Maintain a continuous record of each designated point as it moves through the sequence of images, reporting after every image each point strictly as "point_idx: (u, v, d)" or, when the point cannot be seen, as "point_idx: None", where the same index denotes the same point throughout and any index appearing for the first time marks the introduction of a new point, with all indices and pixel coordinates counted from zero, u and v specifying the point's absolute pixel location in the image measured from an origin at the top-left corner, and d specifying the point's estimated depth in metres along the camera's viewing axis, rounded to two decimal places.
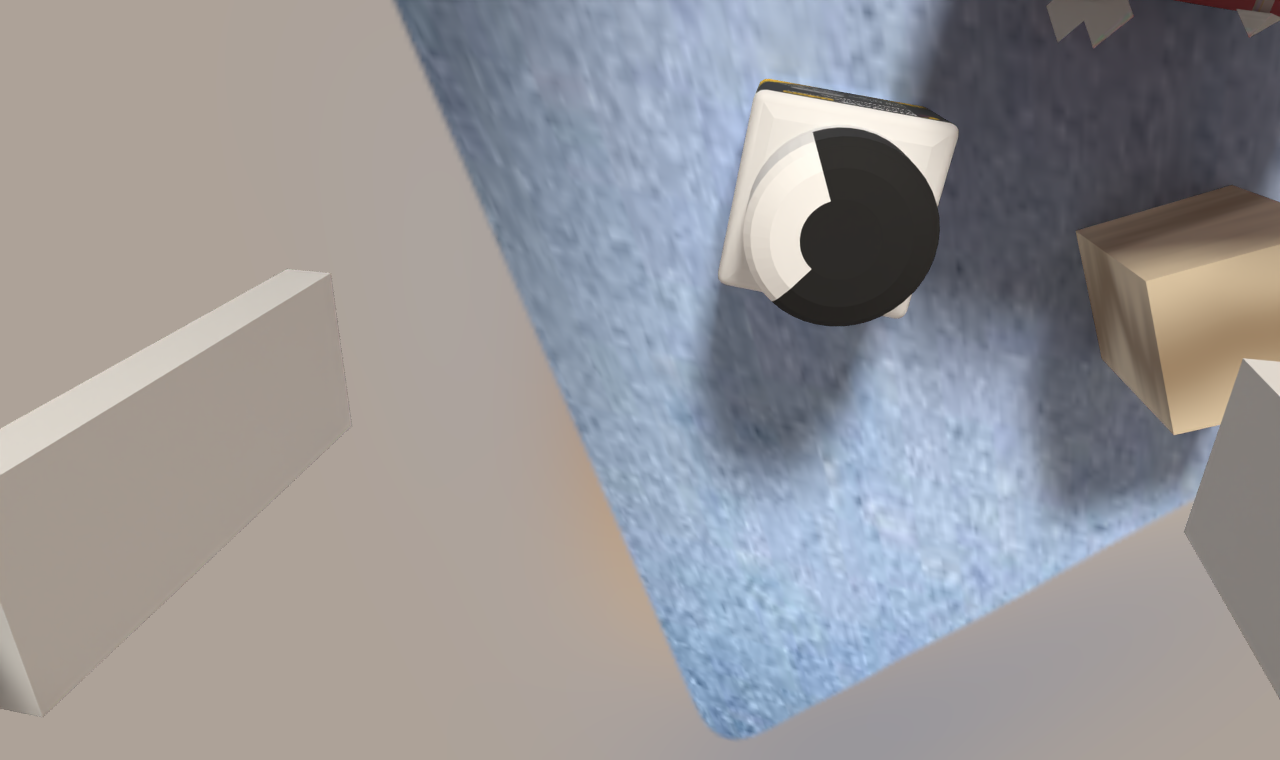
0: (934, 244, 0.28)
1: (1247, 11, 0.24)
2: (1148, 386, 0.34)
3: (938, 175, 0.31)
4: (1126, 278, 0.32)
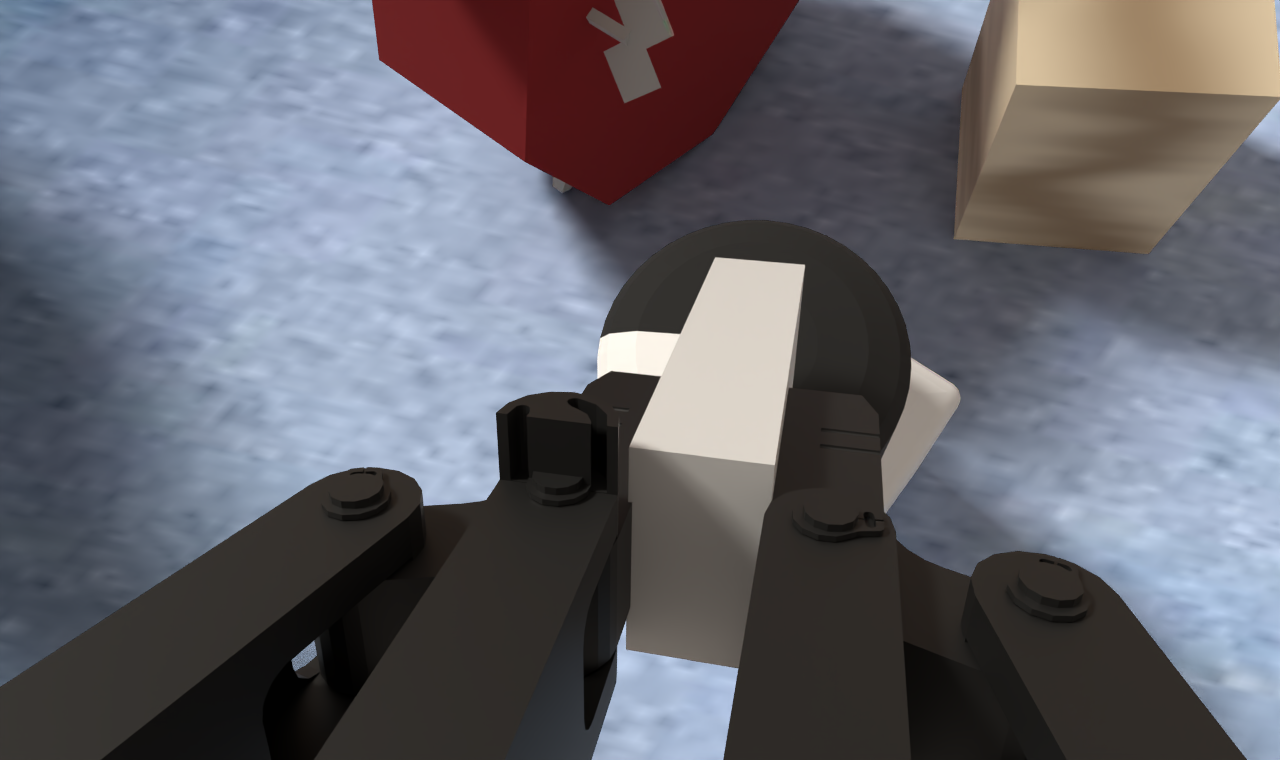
0: (825, 237, 0.18)
1: None
2: (1192, 141, 0.23)
3: None
4: (1015, 136, 0.24)
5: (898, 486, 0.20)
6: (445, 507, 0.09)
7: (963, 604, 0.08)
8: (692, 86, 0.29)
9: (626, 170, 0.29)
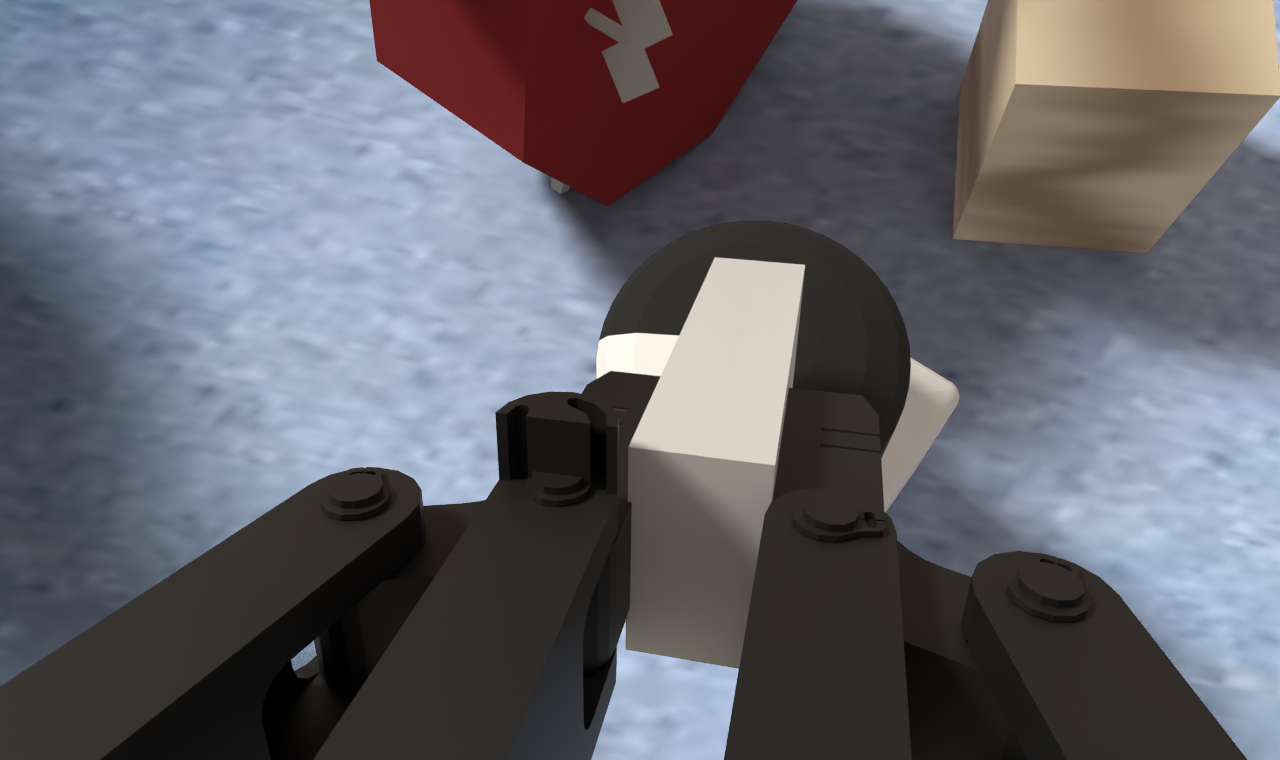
0: (822, 236, 0.18)
1: None
2: (1191, 140, 0.23)
3: None
4: (1014, 135, 0.24)
5: (898, 485, 0.20)
6: (445, 507, 0.09)
7: (964, 604, 0.08)
8: (691, 87, 0.29)
9: (624, 170, 0.29)
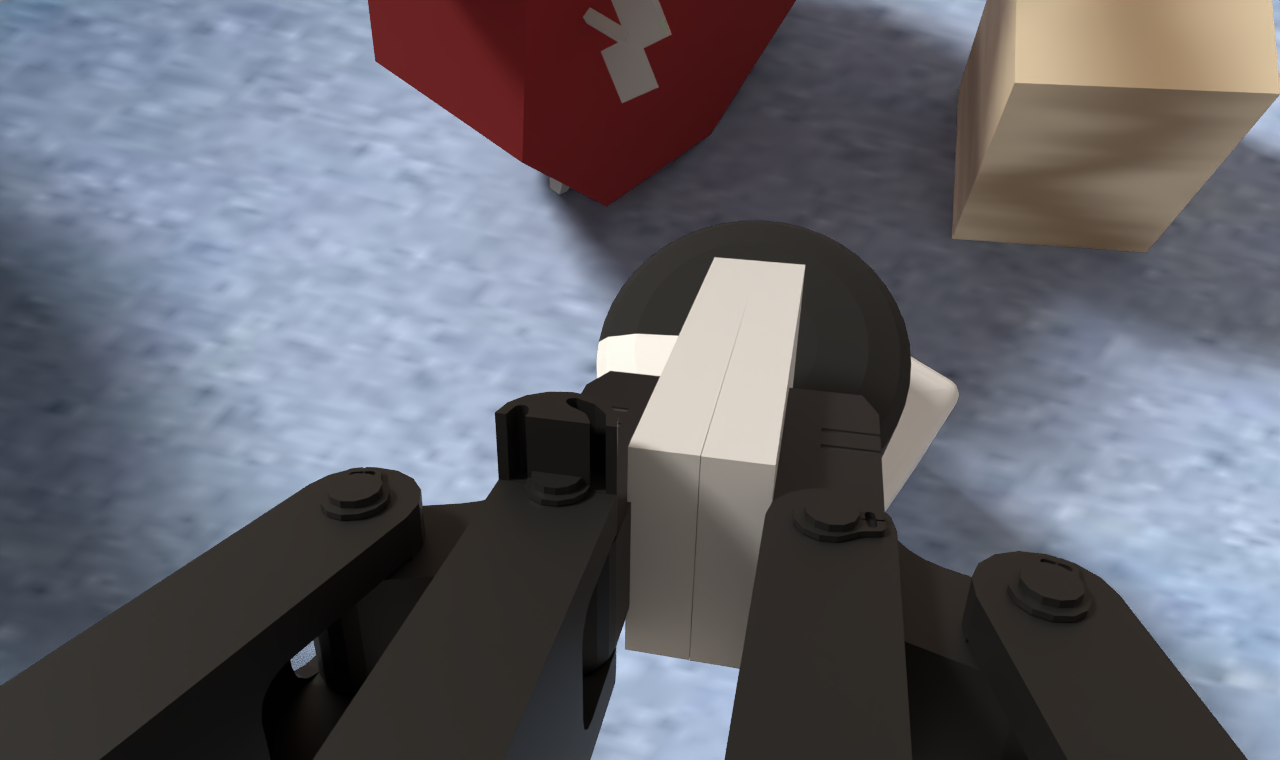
0: (821, 235, 0.18)
1: None
2: (1191, 139, 0.23)
3: None
4: (1013, 134, 0.24)
5: (899, 484, 0.20)
6: (444, 507, 0.09)
7: (964, 604, 0.08)
8: (689, 87, 0.29)
9: (623, 170, 0.29)
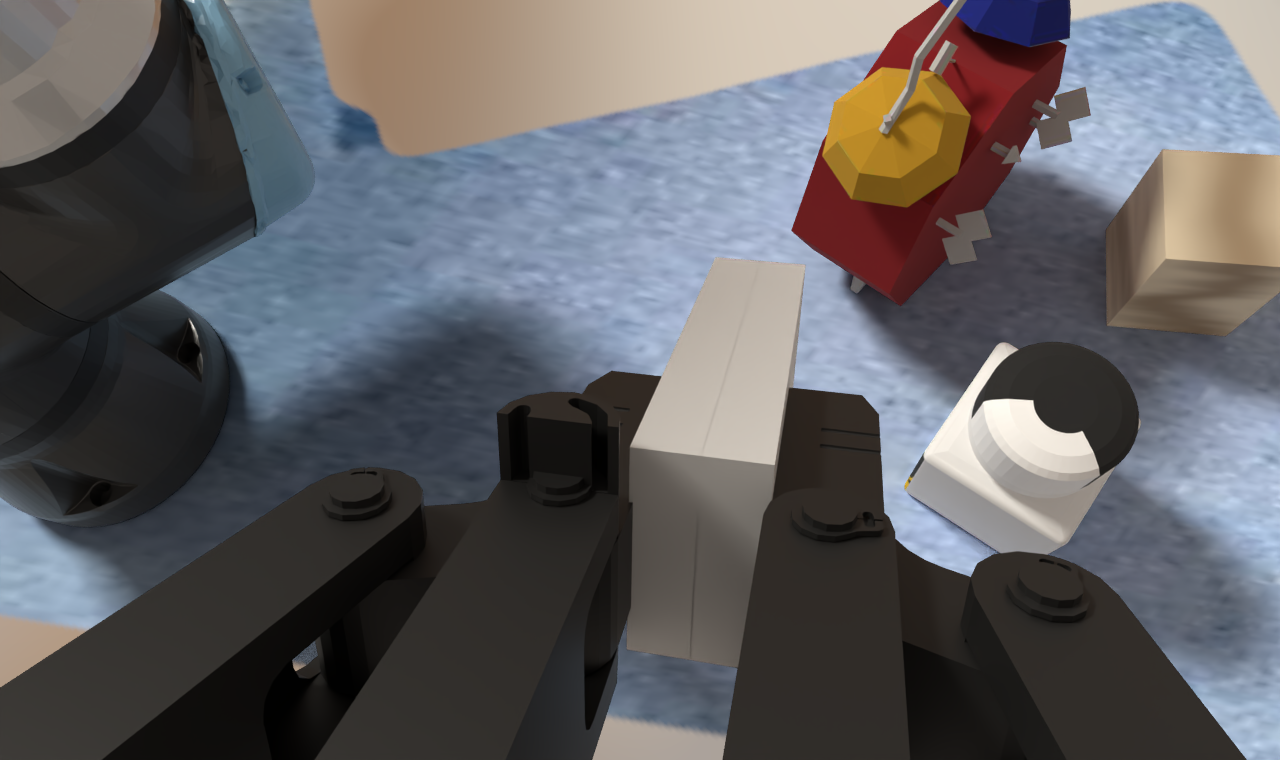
0: (1090, 350, 0.37)
1: (1005, 158, 0.41)
2: (1258, 285, 0.43)
3: None
4: (1159, 279, 0.44)
5: (1113, 469, 0.40)
6: (446, 507, 0.09)
7: (963, 604, 0.08)
8: (952, 236, 0.49)
9: (914, 286, 0.48)
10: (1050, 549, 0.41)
